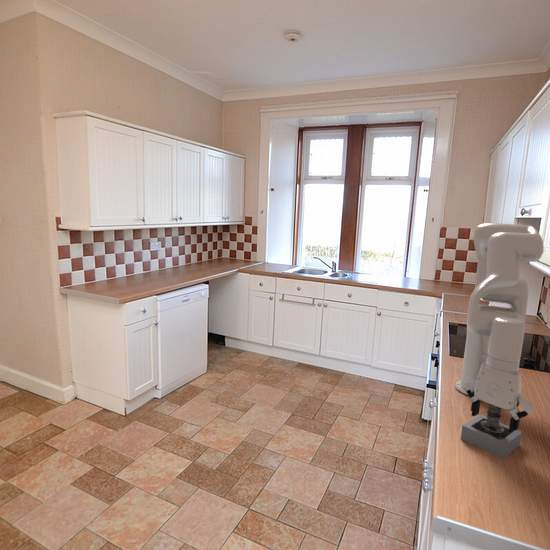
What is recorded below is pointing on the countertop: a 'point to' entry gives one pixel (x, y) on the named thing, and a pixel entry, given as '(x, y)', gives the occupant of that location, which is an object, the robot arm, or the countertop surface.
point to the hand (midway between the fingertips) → (493, 422)
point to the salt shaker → (493, 422)
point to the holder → (491, 438)
